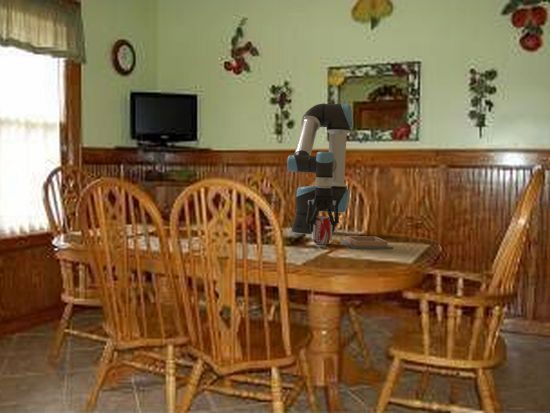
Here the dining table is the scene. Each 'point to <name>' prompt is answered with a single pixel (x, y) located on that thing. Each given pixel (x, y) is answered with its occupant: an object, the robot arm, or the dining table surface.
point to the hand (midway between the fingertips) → (321, 239)
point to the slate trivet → (365, 242)
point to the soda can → (322, 230)
